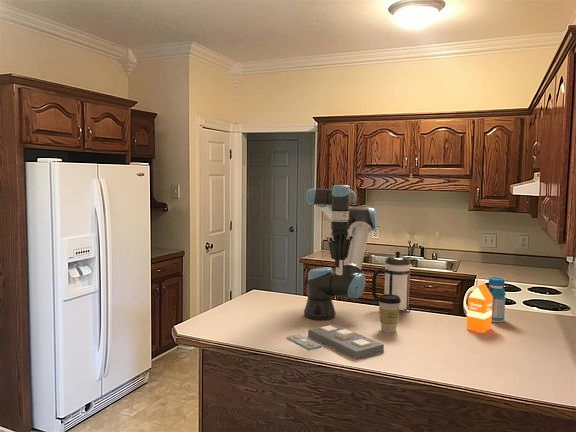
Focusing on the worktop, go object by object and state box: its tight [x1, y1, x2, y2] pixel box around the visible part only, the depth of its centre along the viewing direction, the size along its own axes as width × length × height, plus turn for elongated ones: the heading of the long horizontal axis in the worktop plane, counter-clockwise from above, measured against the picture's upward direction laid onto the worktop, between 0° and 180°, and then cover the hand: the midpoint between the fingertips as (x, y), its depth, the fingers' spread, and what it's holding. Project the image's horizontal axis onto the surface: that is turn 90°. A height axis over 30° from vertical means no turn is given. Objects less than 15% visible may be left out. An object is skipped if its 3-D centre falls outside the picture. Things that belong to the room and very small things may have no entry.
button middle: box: [336, 328, 354, 340], centre depth 193 cm, size 5×5×4 cm
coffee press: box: [371, 251, 413, 314], centre depth 241 cm, size 17×16×30 cm
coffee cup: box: [377, 294, 401, 333], centre depth 210 cm, size 10×10×15 cm
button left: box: [319, 324, 337, 333], centre depth 201 cm, size 5×5×4 cm
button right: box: [352, 339, 371, 348], centre depth 185 cm, size 5×5×4 cm
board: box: [307, 323, 385, 360], centre depth 193 cm, size 30×14×3 cm, turn 34°
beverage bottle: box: [487, 276, 506, 323], centre depth 227 cm, size 8×8×20 cm
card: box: [285, 334, 322, 351], centre depth 194 cm, size 16×6×1 cm, turn 34°
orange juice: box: [466, 282, 493, 334], centre depth 213 cm, size 8×9×20 cm
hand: (339, 274), depth 210 cm, fingers closed
